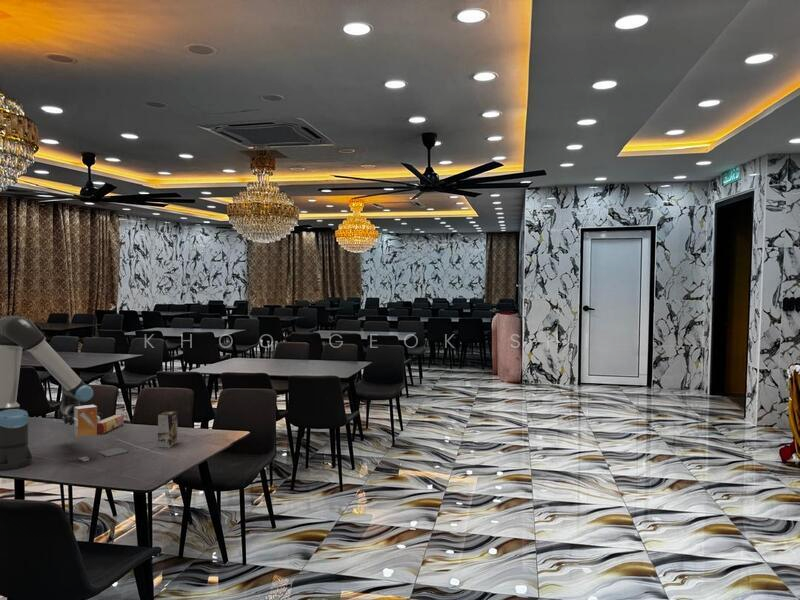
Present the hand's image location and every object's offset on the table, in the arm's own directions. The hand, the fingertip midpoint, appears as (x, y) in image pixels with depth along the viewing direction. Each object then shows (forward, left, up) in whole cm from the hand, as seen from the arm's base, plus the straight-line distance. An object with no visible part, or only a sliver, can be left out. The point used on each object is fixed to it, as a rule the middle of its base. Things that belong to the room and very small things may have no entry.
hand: (88, 421), depth 252 cm
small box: (+1, +5, -7) cm, 9 cm away
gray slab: (+13, +5, -18) cm, 23 cm away
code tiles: (+1, +5, -18) cm, 19 cm away
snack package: (+32, +50, -18) cm, 62 cm away
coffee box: (+37, -2, -18) cm, 41 cm away
